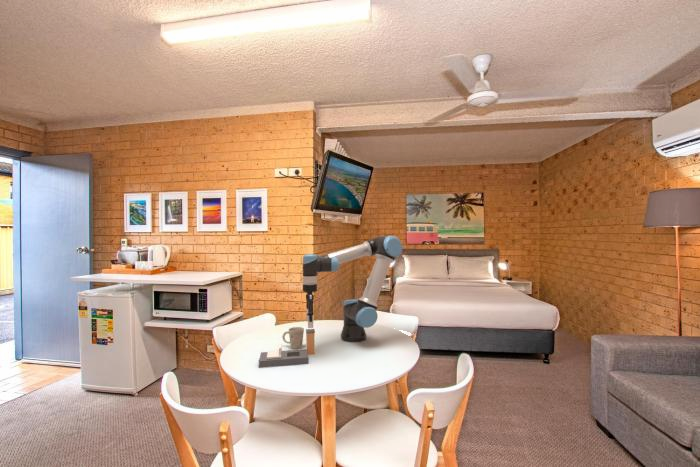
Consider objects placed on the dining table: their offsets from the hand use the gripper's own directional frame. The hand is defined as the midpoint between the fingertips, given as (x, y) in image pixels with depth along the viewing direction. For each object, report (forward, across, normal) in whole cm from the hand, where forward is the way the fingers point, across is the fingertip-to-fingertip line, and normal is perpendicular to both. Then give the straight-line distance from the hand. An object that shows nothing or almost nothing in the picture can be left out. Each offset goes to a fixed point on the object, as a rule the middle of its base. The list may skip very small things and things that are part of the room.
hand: (309, 324), depth 170 cm
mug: (+15, -12, -8) cm, 21 cm away
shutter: (+12, +8, -18) cm, 23 cm away
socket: (+15, +8, -13) cm, 22 cm away
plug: (+15, 0, 0) cm, 15 cm away
